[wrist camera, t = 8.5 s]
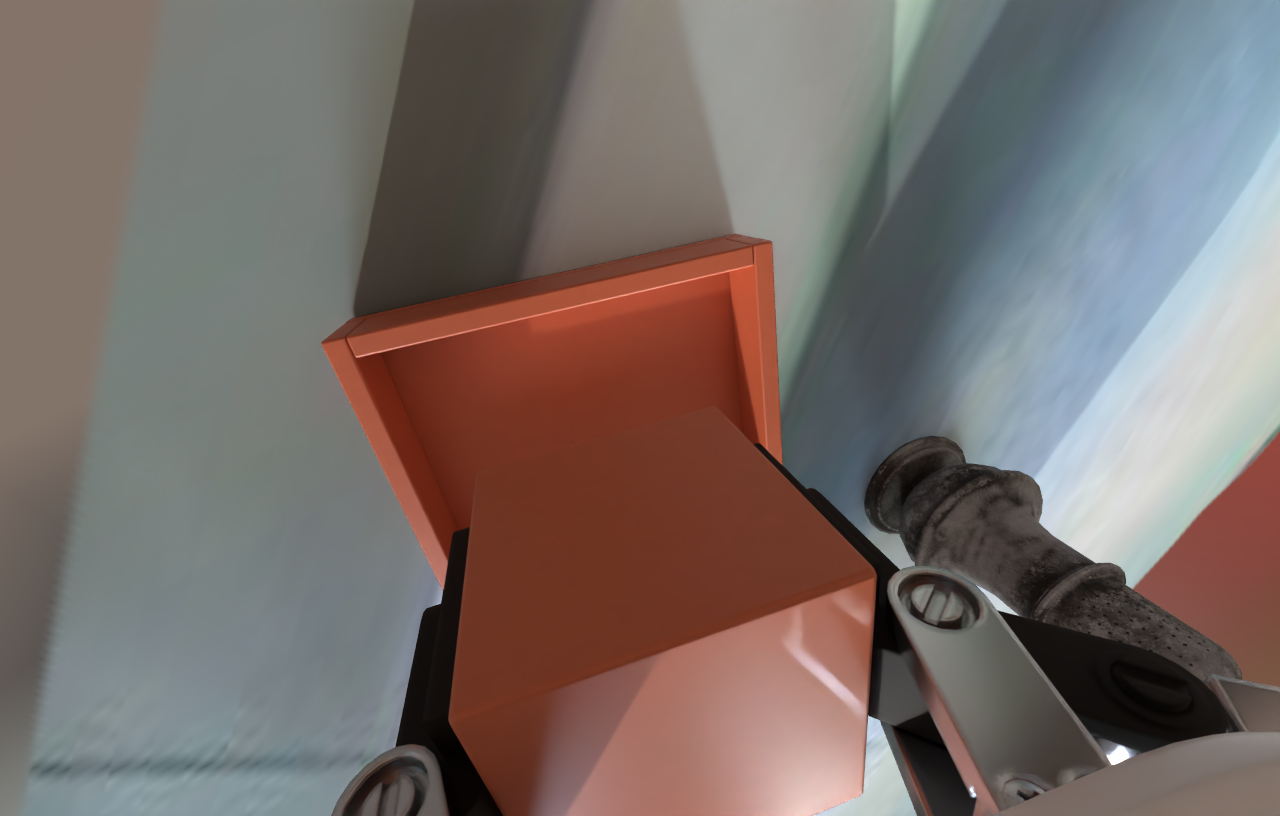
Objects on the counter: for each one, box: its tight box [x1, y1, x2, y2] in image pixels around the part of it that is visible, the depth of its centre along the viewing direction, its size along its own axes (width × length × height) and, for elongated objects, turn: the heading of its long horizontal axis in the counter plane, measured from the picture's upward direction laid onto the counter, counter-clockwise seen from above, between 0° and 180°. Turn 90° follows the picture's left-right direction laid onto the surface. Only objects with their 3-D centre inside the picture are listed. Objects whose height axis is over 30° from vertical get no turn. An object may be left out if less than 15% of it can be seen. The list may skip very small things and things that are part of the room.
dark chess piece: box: [865, 436, 1242, 680], centre depth 17 cm, size 6×6×12 cm
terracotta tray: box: [321, 234, 783, 590], centre depth 16 cm, size 12×9×2 cm
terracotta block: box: [448, 406, 877, 816], centre depth 9 cm, size 5×5×5 cm
